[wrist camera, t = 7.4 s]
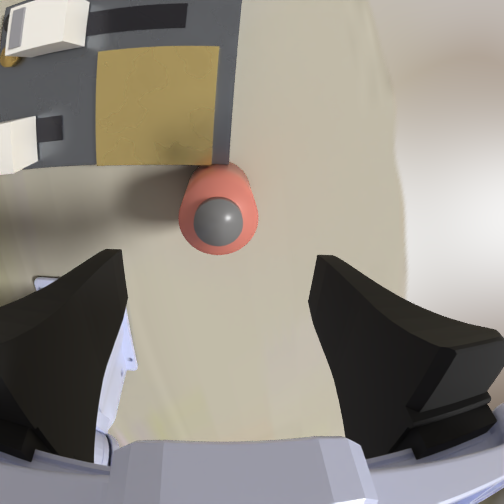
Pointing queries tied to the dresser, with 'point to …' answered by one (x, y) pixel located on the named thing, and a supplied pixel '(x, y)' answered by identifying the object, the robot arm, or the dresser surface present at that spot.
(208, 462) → the robot arm
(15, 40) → the block
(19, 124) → the block
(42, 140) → the panel
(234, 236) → the cap
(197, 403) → the dresser surface
